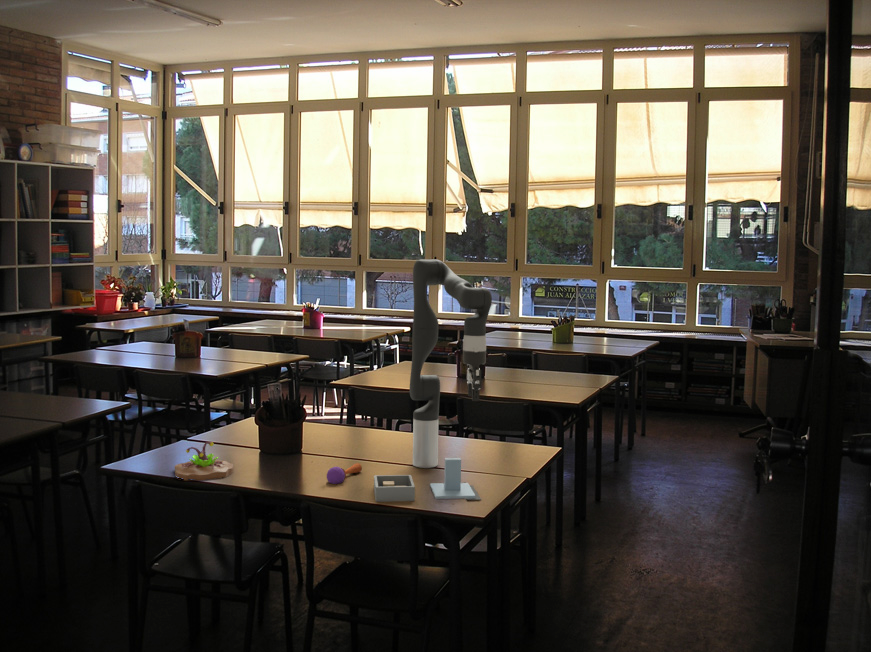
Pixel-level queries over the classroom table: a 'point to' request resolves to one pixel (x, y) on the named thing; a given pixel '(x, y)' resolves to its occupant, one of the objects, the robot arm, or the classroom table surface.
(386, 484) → the wooden block
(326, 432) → the classroom table surface
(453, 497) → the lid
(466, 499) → the rubber mat
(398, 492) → the parts tub
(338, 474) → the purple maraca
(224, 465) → the plant
